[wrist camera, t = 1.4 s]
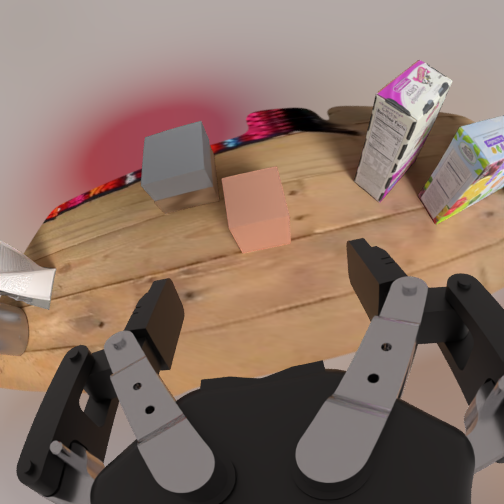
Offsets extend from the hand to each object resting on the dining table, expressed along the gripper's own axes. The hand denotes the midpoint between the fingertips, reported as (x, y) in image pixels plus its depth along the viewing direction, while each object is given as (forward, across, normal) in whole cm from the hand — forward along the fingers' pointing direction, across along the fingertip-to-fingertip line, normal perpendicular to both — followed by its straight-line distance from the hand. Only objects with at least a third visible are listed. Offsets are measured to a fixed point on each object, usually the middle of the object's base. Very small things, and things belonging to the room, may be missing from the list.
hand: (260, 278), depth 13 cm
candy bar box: (+27, -19, +3) cm, 33 cm away
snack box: (+24, -33, +7) cm, 41 cm away
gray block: (+27, +9, -3) cm, 28 cm away
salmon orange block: (+23, 0, +6) cm, 24 cm away
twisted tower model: (+22, +38, +7) cm, 45 cm away
